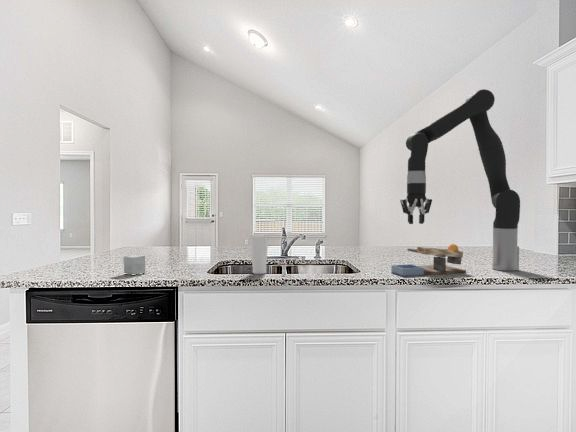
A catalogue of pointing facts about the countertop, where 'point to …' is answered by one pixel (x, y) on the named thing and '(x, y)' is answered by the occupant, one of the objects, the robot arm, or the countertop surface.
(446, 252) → the lever
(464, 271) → the lever stand
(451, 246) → the ball
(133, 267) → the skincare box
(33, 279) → the countertop surface
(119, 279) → the countertop surface
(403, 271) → the tray
